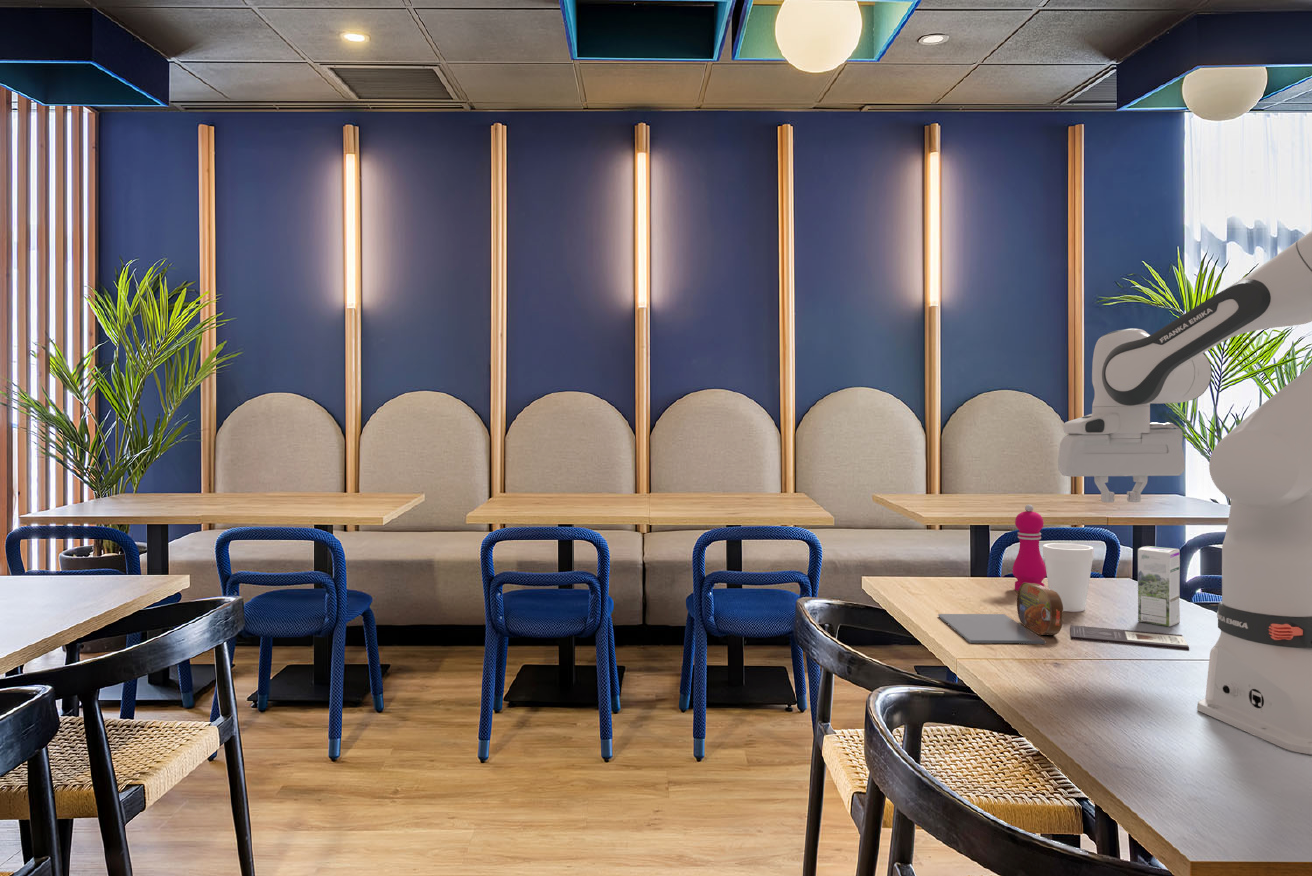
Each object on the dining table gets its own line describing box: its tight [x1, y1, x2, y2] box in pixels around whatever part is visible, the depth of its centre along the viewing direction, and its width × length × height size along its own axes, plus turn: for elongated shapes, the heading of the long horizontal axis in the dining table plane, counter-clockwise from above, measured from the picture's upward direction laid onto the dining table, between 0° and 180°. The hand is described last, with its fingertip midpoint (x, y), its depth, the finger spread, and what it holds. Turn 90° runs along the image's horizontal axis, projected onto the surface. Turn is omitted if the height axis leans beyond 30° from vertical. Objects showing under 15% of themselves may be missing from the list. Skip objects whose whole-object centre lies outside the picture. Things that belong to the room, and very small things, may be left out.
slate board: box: [937, 613, 1046, 645], centre depth 156 cm, size 20×13×1 cm, turn 177°
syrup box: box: [1137, 545, 1181, 627], centre depth 160 cm, size 6×6×14 cm
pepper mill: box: [1011, 504, 1047, 592], centre depth 190 cm, size 7×7×20 cm
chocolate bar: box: [1070, 624, 1190, 651], centre depth 148 cm, size 9×1×18 cm
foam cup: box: [1042, 542, 1095, 613], centre depth 172 cm, size 10×9×13 cm
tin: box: [1016, 582, 1064, 636], centre depth 155 cm, size 15×3×8 cm, turn 178°
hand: (1120, 502), depth 144 cm, fingers open, 3 cm apart
